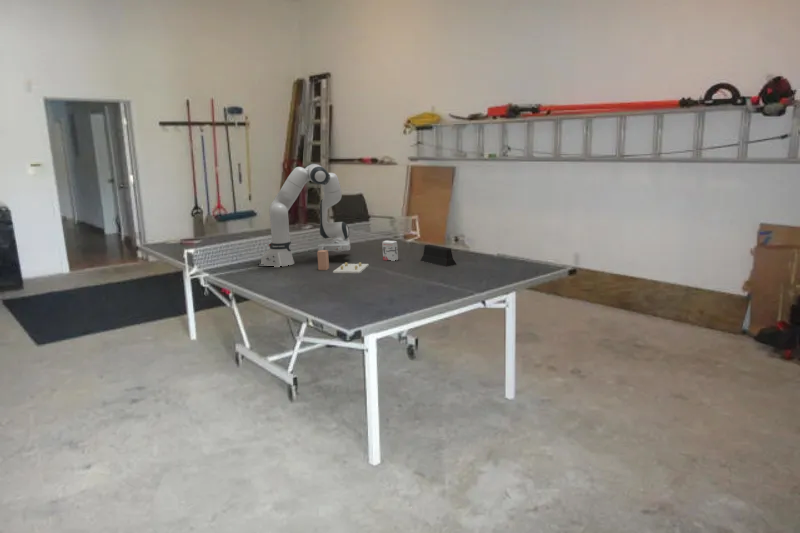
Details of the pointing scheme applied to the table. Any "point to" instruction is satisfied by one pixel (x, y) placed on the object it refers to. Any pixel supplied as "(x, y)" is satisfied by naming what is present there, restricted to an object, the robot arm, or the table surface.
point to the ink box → (390, 250)
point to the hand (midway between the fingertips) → (330, 249)
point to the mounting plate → (351, 268)
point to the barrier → (438, 255)
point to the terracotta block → (323, 260)
